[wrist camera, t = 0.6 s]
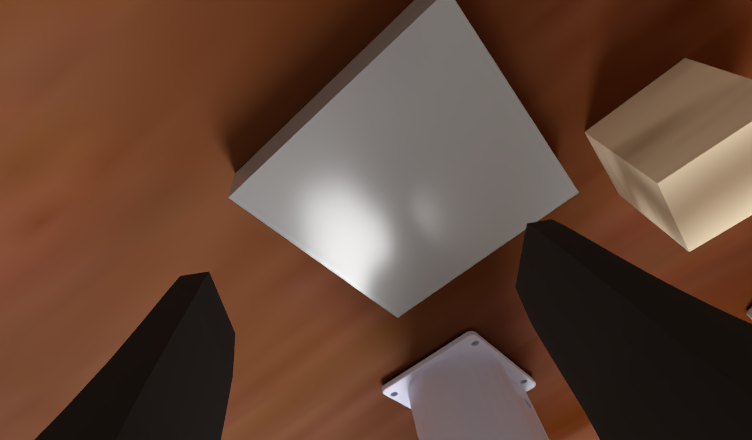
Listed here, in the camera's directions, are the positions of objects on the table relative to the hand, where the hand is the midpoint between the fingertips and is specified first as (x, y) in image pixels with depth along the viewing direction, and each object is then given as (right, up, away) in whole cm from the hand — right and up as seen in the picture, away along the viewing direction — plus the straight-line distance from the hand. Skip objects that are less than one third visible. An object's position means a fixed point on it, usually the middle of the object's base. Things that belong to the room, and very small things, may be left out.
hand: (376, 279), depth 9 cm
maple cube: (+13, +6, +11) cm, 18 cm away
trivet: (+1, +4, +10) cm, 10 cm away
